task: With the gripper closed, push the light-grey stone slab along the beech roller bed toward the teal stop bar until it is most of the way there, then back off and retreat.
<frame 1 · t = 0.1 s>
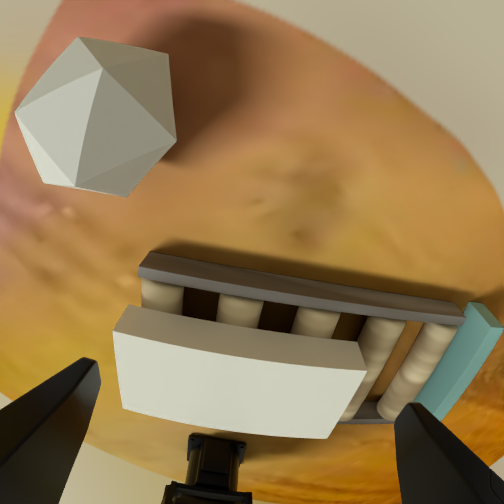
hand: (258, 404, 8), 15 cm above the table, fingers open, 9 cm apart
slab: (234, 383, 21), point 5 cm above the table, slide at 0.0 cm
stop bar: (443, 361, 26), on the table
die: (128, 115, 19), on the table
roller bed: (298, 351, 26), on the table
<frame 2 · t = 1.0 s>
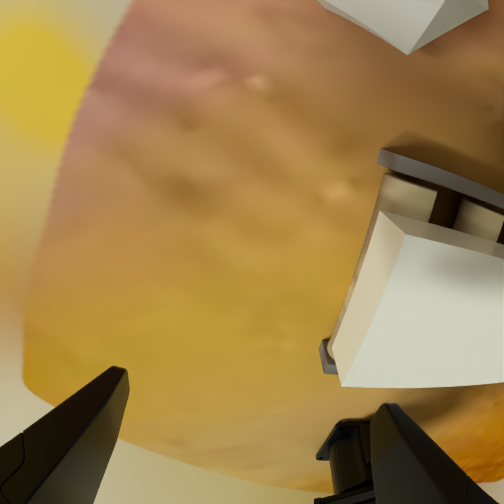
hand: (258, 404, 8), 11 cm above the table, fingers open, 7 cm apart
slab: (481, 316, 14), point 5 cm above the table, slide at 0.0 cm
roller bed: (493, 287, 19), on the table
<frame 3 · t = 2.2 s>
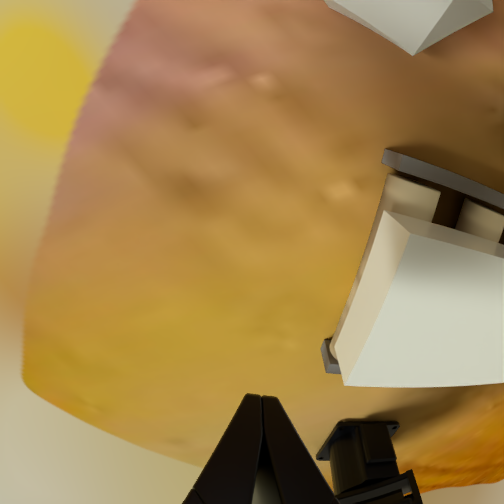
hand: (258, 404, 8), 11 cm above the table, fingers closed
slab: (483, 317, 14), point 5 cm above the table, slide at 0.0 cm
roller bed: (494, 288, 19), on the table
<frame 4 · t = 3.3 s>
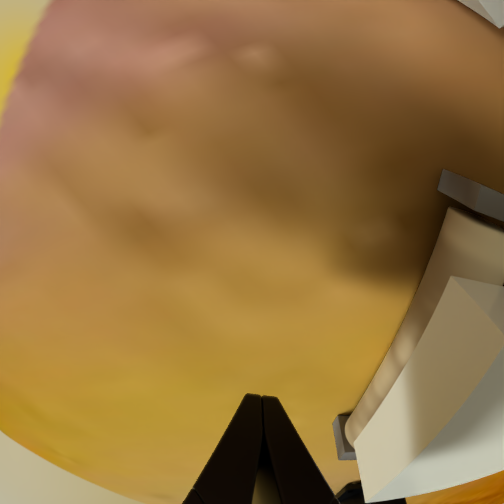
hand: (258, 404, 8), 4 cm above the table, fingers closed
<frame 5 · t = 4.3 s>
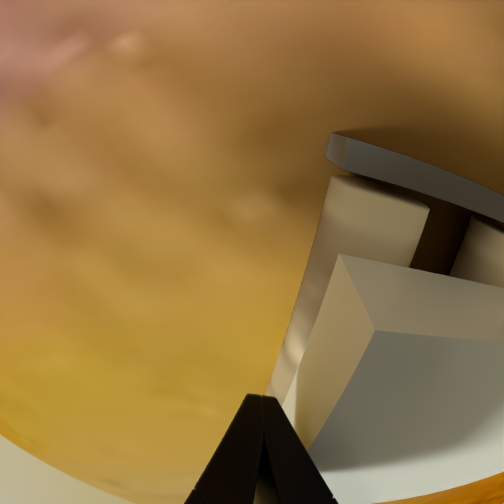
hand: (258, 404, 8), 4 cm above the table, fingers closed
slab: (496, 404, 8), point 5 cm above the table, slide at 0.8 cm, touching gripper
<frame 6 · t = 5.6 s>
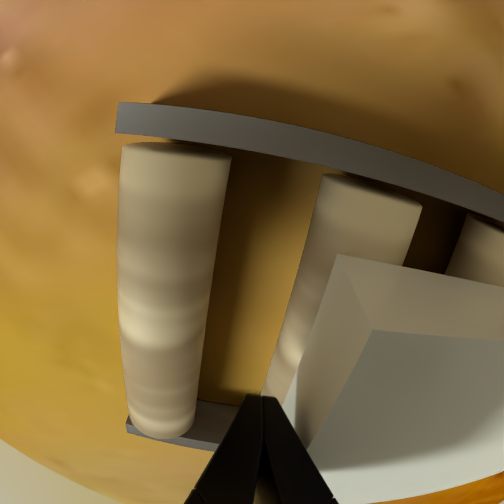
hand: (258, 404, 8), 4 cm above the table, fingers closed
slab: (496, 403, 8), point 5 cm above the table, slide at 6.5 cm, touching gripper
roller bed: (429, 332, 12), on the table
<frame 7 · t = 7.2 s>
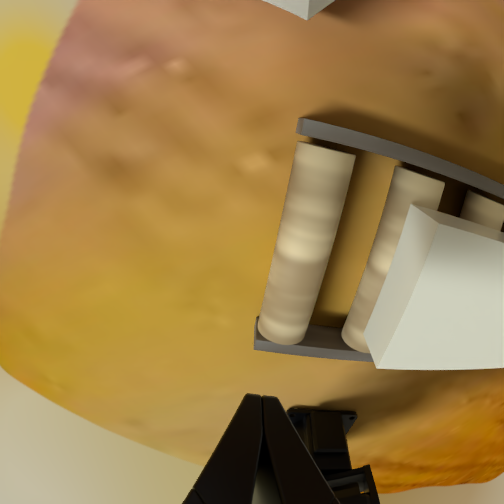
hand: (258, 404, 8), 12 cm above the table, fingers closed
slab: (498, 303, 15), point 5 cm above the table, slide at 6.5 cm
roller bed: (449, 267, 19), on the table
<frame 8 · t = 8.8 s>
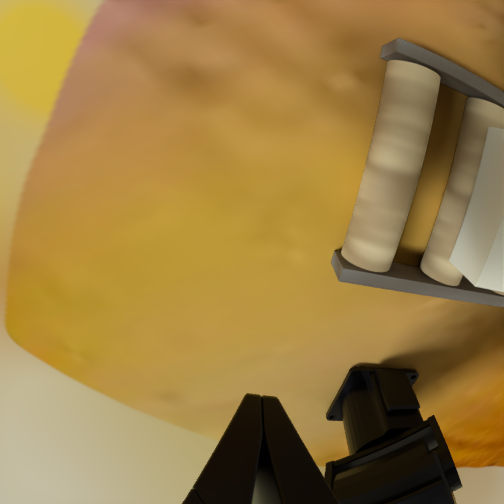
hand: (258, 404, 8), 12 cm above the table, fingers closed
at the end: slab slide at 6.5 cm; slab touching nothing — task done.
